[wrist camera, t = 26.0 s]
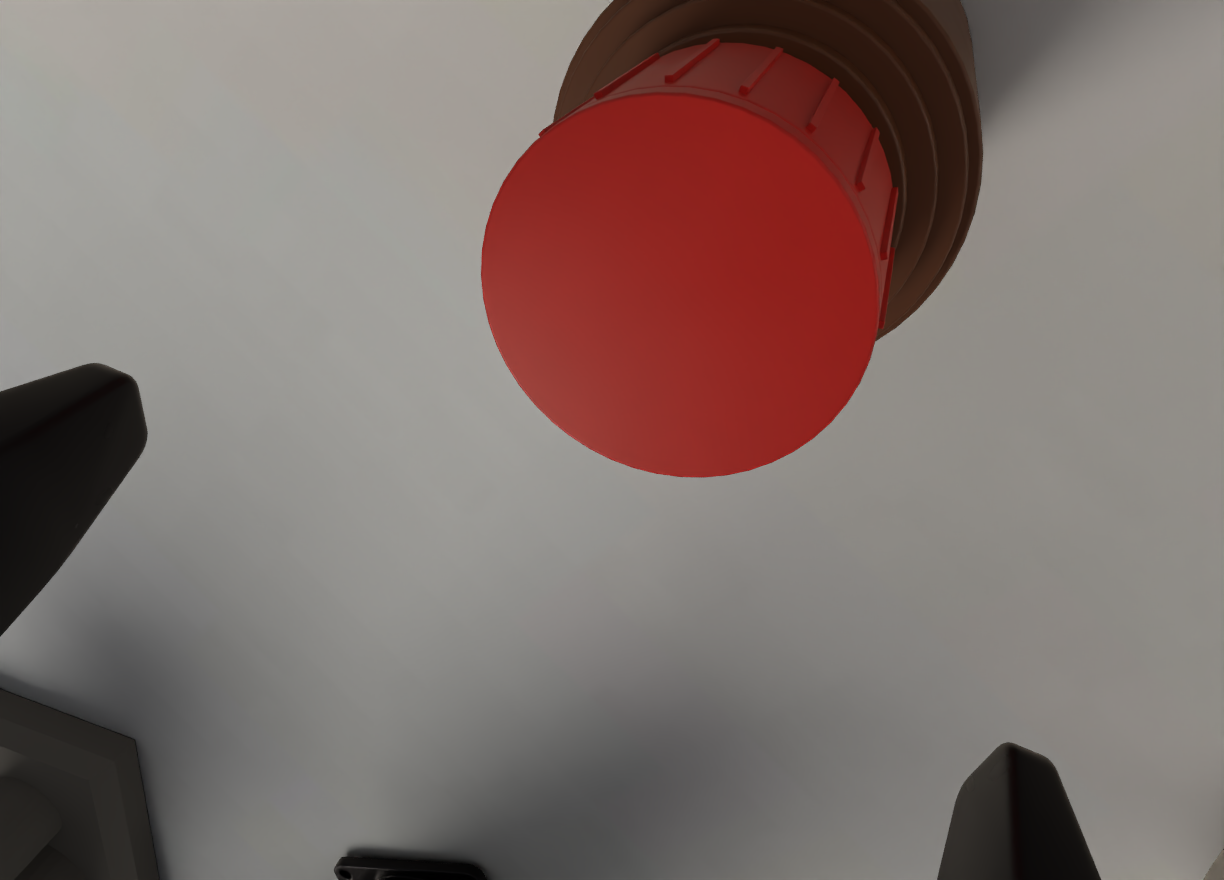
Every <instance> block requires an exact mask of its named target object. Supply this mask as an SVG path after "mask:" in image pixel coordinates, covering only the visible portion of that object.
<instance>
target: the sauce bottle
mask: <svg viewBox="0 0 1224 880" xmlns="http://www.w3.org/2000/svg"><path fill="white" fill-rule="evenodd" d="M712 39H720V43H745V44H751V45H757V46H764V47H767V48H771V49H775V48H776V47H780V48H783V53H787V54H789V55H791V56H793V57H795V58H797V59H800V60H802V61H804V62H806V63H808V64H810V65H811V66H813V67H814V68H816V69H817V70H819V71H820V72H822V73H823V74H825V75H826V76H828V77H829V78H830V79H833V78H836V79H837V80H838V81H839V85H838V86H839V87H841V88H842V89H843V90H844V91H845V92H846V93H847V94H848V95H849V96H850V97H851V99H852V100H853V101H854V102H855V103H856V104H857V106H858V107H859V108H860V109H861V110H862V112H863V113H864V115H865V116H866V118H867V120H868V121H869V123H870V124H871V126H872V127H873V129H874V128H875V127H877V129H878V130H879V132H880V134H879V138H878V139H879V141H880V144H881V146H882V148H883V150H884V153H885V156H886V160H887V163H888V166H889V170H890V173H891V179H892V186H893V188H894V187H898V199H897V205H896V212H895V218H894V225H893V232H892V240H891V247H892V248H895V254H894V261H893V268H892V275H891V282H890V289H889V297H888V304H887V311H886V318H885V324H884V328H883V329H879V328H878V331H877V336H876V340H875V341H877V340H878V339H880V338H881V337H883V336H884V335H886V334H887V333H889V332H890V331H892V330H893V329H895V328H896V327H897V326H899V325H900V324H901V323H902V322H903V321H904V320H906V319H907V318H908V317H909V316H910V315H911V314H913V313H914V312H915V311H916V310H917V309H918V308H919V307H920V306H921V305H922V304H923V303H924V301H925V300H926V299H927V298H928V297H929V296H930V295H931V294H932V293H933V292H934V290H935V289H936V288H937V286H938V285H939V284H940V282H941V281H942V279H943V278H944V276H945V275H946V273H947V272H948V271H949V269H950V268H951V266H952V265H953V263H954V261H955V259H956V257H957V255H958V253H959V251H960V249H961V247H962V245H963V243H964V241H965V239H966V236H967V233H968V230H969V228H970V225H971V222H972V219H973V216H974V214H975V210H976V205H977V200H978V195H979V191H980V186H981V177H982V163H983V143H982V129H981V118H980V109H979V100H978V92H977V83H976V75H975V66H974V57H973V49H972V40H971V35H970V31H969V26H968V21H967V17H966V15H965V12H964V9H963V6H962V3H961V1H960V0H614V1H613V2H612V3H611V4H610V5H609V6H608V7H607V8H606V9H605V10H604V11H603V12H602V13H601V14H600V16H599V17H598V19H597V20H596V21H595V23H594V24H593V26H592V27H591V28H590V30H589V31H588V33H587V34H586V35H585V37H584V38H583V40H582V42H581V44H580V46H579V48H578V49H577V51H576V53H575V55H574V57H573V59H572V61H571V63H570V65H569V68H568V70H567V73H566V76H565V78H564V81H563V84H562V86H561V89H560V93H559V97H558V101H557V106H556V110H555V114H554V120H553V123H554V122H555V121H557V120H558V119H560V118H561V117H563V116H564V115H566V114H567V113H569V112H570V111H572V110H573V109H575V108H576V107H578V106H579V105H581V104H582V103H584V102H585V101H587V100H588V99H590V98H591V97H593V96H594V93H595V92H597V91H598V90H600V89H601V88H603V87H604V86H606V85H607V84H609V83H610V82H612V81H613V80H615V79H616V78H618V77H619V76H621V75H622V74H624V73H626V72H627V71H629V70H630V69H632V68H633V67H635V66H636V65H638V64H639V63H641V62H642V61H644V60H645V59H647V58H648V57H650V56H651V55H653V54H655V53H659V56H660V57H662V56H664V55H666V54H669V53H671V52H673V51H676V50H680V49H684V48H688V47H691V46H695V45H702V44H707V43H708V42H709V41H711V40H712Z"/></svg>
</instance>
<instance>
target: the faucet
mask: <svg viewBox="0 0 1224 880" xmlns="http://www.w3.org/2000/svg"><path fill="white" fill-rule="evenodd" d="M0 880H159V876H158V870H157V864H156V859H155V853H154V847H153V842H152V836H151V831H150V825H149V819H148V814H147V808H146V802H145V797H144V791H143V785H142V780H141V774H140V768H139V763H138V757H137V751H136V746H135V740H133V739H130V738H128V737H125V736H122V735H120V734H117V733H115V732H112V731H109V730H107V729H104V728H101V727H99V726H96V725H93V724H91V723H88V722H85V721H83V720H80V719H77V718H75V717H72V716H70V715H67V714H64V713H62V712H59V711H56V710H54V709H51V708H48V707H46V706H43V705H40V704H38V703H35V702H33V701H30V700H27V699H25V698H22V697H19V696H17V695H14V694H11V693H9V692H6V691H3V690H1V689H0Z"/></svg>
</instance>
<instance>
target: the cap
mask: <svg viewBox="0 0 1224 880" xmlns="http://www.w3.org/2000/svg"><path fill="white" fill-rule="evenodd" d="M838 85H839V81H838V80H837V79H836V78H833V79H830V78H829V77H828V76H826V75H825V74H823V73H822V72H820V71H819V70H817V69H816V68H814V67H813V66H811V65H810V64H808V63H806V62H804V61H802V60H800V59H797V58H795V57H793V56H791V55H789V54H787V53H783V48H780V47H776V48H775V49H771V48H767V47H764V46H757V45H751V44H745V43H720V39H712V40H711V41H709V42H708V43H707V44H702V45H695V46H691V47H688V48H684V49H680V50H676V51H673V52H671V53H669V54H666V55H664V56H662V57H660V56H659V53H655V54H653V55H651V56H650V57H648V58H647V59H645V60H644V61H642V62H641V63H639V64H638V65H636V66H635V67H633V68H632V69H630V70H629V71H627V72H626V73H624V74H622V75H621V76H619V77H618V78H616V79H615V80H613V81H612V82H610V83H609V84H607V85H606V86H604V87H603V88H601V89H600V90H598V91H597V92H595V93H594V96H593V97H591V98H590V99H588V100H587V101H585V102H584V103H582V104H581V105H579V106H578V107H576V108H575V109H573V110H572V111H570V112H569V113H567V114H566V115H564V116H563V117H561V118H560V119H558V120H557V121H555V122H554V123H552V124H551V125H549V126H548V127H546V128H545V129H543V130H542V131H541V132H540V133H539V136H540V138H538V139H537V140H536V141H535V142H534V143H533V144H532V145H531V146H530V147H529V148H528V149H527V151H526V152H525V153H524V154H523V155H522V156H521V157H520V158H519V159H518V161H517V162H516V164H515V165H514V167H513V168H512V170H511V171H510V173H509V174H508V176H507V177H506V179H505V180H504V182H503V184H502V186H501V188H500V190H499V192H498V194H497V196H496V199H495V201H494V203H493V206H492V209H491V212H490V215H489V218H488V222H487V225H486V229H485V235H484V241H483V247H482V265H481V279H482V289H483V299H484V304H485V308H486V313H487V317H488V322H489V325H490V328H491V330H492V333H493V336H494V339H495V342H496V345H497V347H498V349H499V351H500V353H501V355H502V357H503V359H504V361H505V363H506V365H507V367H508V368H509V370H510V372H511V373H512V375H513V376H514V378H515V379H516V381H517V382H518V384H519V386H520V387H521V388H522V389H523V391H524V392H525V393H526V394H527V396H528V397H529V398H530V399H531V401H532V402H533V403H534V404H535V405H536V406H537V407H538V408H539V409H540V410H541V411H542V412H543V413H544V414H545V415H546V416H547V417H548V418H549V419H550V420H551V421H552V422H553V423H554V424H556V425H557V426H558V427H559V428H560V429H562V430H563V431H564V432H565V433H567V434H568V435H569V436H571V437H572V438H574V439H575V440H577V441H578V442H580V443H581V444H583V445H585V446H586V447H588V448H589V449H591V450H593V451H595V452H597V453H599V454H601V455H603V456H605V457H607V458H609V459H611V460H614V461H616V462H619V463H622V464H625V465H627V466H630V467H633V468H636V469H640V470H644V471H648V472H652V473H656V474H663V475H670V476H677V477H713V476H724V475H730V474H735V473H739V472H744V471H749V470H752V469H755V468H758V467H760V466H763V465H766V464H769V463H772V462H774V461H776V460H778V459H780V458H782V457H784V456H786V455H788V454H790V453H792V452H794V451H795V450H797V449H798V448H800V447H801V446H803V445H804V444H806V443H807V442H809V441H810V440H812V439H813V438H814V437H815V436H817V435H818V434H819V433H820V432H821V431H822V430H823V429H824V428H825V427H827V426H828V425H829V424H830V423H831V422H832V421H833V420H834V418H835V417H836V416H837V415H838V414H839V413H840V411H841V410H842V409H843V408H844V407H845V405H846V404H847V403H848V401H849V400H850V398H851V396H852V395H853V393H854V392H855V390H856V388H857V387H858V385H859V384H860V382H861V379H862V377H863V375H864V373H865V370H866V368H867V366H868V363H869V361H870V358H871V355H872V351H873V347H874V344H875V340H876V336H877V331H878V328H879V329H883V328H884V324H885V318H886V311H887V304H888V297H889V289H890V282H891V275H892V268H893V261H894V254H895V248H892V247H891V240H892V232H893V225H894V218H895V212H896V205H897V199H898V187H894V188H893V186H892V179H891V173H890V170H889V166H888V163H887V160H886V156H885V153H884V150H883V148H882V146H881V144H880V141H879V139H878V138H879V134H880V132H879V130H878V129H877V127H875V128H874V129H873V127H872V126H871V124H870V123H869V121H868V120H867V118H866V116H865V115H864V113H863V112H862V110H861V109H860V108H859V107H858V106H857V104H856V103H855V102H854V101H853V100H852V99H851V97H850V96H849V95H848V94H847V93H846V92H845V91H844V90H843V89H842V88H841V87H839V86H838Z"/></svg>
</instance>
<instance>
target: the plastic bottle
mask: <svg viewBox="0 0 1224 880" xmlns="http://www.w3.org/2000/svg"><path fill="white" fill-rule="evenodd" d="M1203 880H1224V849H1223V850H1222V851H1221V853H1220V854H1219V856H1218V857H1217V859H1216V860H1215V862H1214V863H1213V865H1212V866H1211V868H1210V869H1209V871H1208V872H1207V874H1206V876H1205V877H1204V879H1203Z"/></svg>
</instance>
